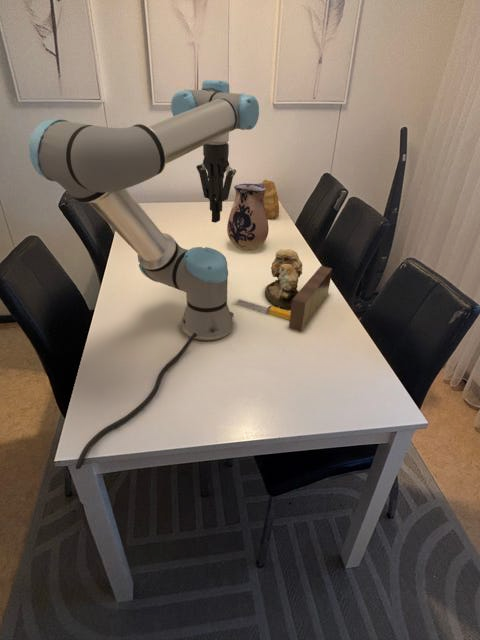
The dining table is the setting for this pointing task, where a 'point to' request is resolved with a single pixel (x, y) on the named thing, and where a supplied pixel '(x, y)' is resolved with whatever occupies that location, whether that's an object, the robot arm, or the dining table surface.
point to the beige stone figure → (284, 279)
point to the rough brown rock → (271, 199)
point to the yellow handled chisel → (266, 309)
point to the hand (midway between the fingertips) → (216, 221)
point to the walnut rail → (310, 298)
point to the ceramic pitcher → (248, 217)
